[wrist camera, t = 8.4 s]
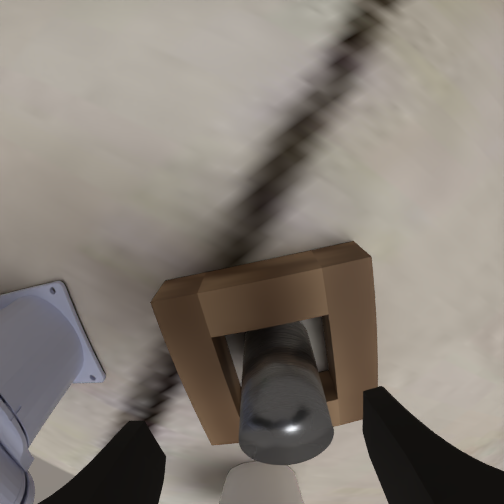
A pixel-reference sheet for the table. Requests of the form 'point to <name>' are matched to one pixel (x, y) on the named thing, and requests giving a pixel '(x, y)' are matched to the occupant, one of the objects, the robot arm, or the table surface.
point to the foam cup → (261, 485)
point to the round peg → (282, 397)
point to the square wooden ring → (267, 315)
